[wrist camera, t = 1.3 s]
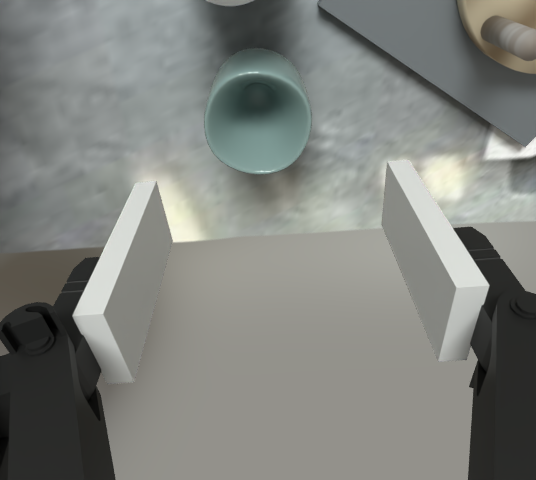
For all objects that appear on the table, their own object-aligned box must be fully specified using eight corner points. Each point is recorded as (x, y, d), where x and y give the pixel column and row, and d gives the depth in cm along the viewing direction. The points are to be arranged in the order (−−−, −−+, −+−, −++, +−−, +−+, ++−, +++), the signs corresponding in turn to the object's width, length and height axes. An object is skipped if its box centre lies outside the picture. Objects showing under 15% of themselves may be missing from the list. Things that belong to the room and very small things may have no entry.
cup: (311, 49, 36) (326, 84, 28) (289, 133, 41) (296, 184, 33) (222, 27, 35) (211, 57, 27) (208, 116, 40) (196, 165, 32)
